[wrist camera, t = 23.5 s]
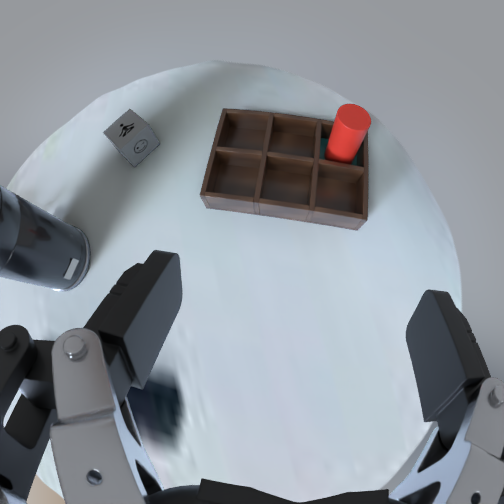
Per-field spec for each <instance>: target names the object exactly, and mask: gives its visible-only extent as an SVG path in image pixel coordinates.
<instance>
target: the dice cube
mask: <svg viewBox="0 0 504 504" xmlns="http://www.w3.org/2000/svg"><path fill="white" fill-rule="evenodd" d="M103 133H104V134H105V135H106V137H107V138H108V139H109V140H110V141H111V143H112V144H113V145H114V146H115V147H116V149H117V150H118V151H119V152H120V153H121V154H122V155H123V156H124V157H125V158H126V159H127V160H128V161H129V162H130V163H131V164H132V165H133V166H134V167H135V166H137V165H138V164H139V163H140V162H141V161H142V160H143V159H144V158H145V157H146V156H147V155H148V154H149V153H150V152H152V151H153V150H154V149H155V148H156V147H157V146H158V145H159V144H160V143H159V141H158V139H157V138H156V136H155V134H154V132H153V131H152V129H151V127H150V126H149V124H148V123H147V122H145V121H144V120H143V119H142V118H141V117H139V116H138V115H137V114H136V113H135V112H133V111H132V110H131V109H129V110H128V111H127V112H125V113H124V114H123V115H122V116H121V117H120V118H119V119H117V120H116V121H115V122H114V123H113V124H112V125H111V126H110V127H109V128H108V129H106V130H105V131H104V132H103Z"/></svg>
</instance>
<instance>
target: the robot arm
mask: <svg viewBox="0 0 504 504" xmlns="http://www.w3.org/2000/svg"><path fill="white" fill-rule="evenodd" d="M89 261H90V246H89V242H88V239H87V237H86V235H85V234H84V233H83V232H82V231H81V230H80V229H78V228H77V227H75V226H72V225H69V224H68V223H66V222H64V221H62V220H61V219H59V218H57V217H55V216H53V215H51V214H50V213H48V212H46V211H44V210H42V209H41V208H39V207H37V206H35V205H34V204H32V203H30V202H28V201H27V200H25V199H23V198H21V197H20V196H18V195H16V194H15V193H13V192H11V191H9V190H7V189H6V188H4V187H2V186H1V185H0V277H3V278H7V279H11V280H15V281H20V282H24V283H29V284H33V285H38V286H42V287H47V288H52V289H54V290H58V291H68V290H71V289H73V288H75V287H76V286H77V285H78V284H79V283H80V282H81V281H82V279H83V278H84V276H85V274H86V272H87V269H88V266H89ZM181 302H182V281H181V269H180V258H179V255H178V254H177V253H171V252H165V251H159V250H154V251H153V252H152V253H151V254H150V256H149V257H148V258H147V260H146V261H145V263H144V264H140V263H137V264H135V265H134V266H132V267H131V268H129V269H128V270H126V271H125V272H124V273H123V274H122V276H121V277H120V278H119V280H118V281H117V282H116V285H114V286H113V287H112V289H111V290H110V293H109V294H107V296H106V297H105V298H104V300H103V301H102V302H101V304H100V305H99V306H98V308H97V309H96V311H95V312H94V313H93V315H92V316H91V318H90V319H89V321H88V322H87V323H86V325H85V326H84V327H83V328H75V329H71V330H68V331H66V332H65V333H63V334H62V335H60V336H59V337H58V338H57V339H56V341H46V340H32V338H31V336H30V334H29V333H28V331H27V330H26V328H24V327H23V326H20V325H11V326H8V327H6V328H4V329H2V330H1V331H0V504H27V503H26V501H27V498H28V495H29V492H30V488H31V486H32V483H33V480H34V477H35V475H36V472H37V469H38V466H39V464H40V461H41V459H42V456H43V454H44V451H45V449H46V446H47V444H48V441H49V439H50V440H51V446H52V451H53V456H54V461H55V465H56V470H57V474H58V478H59V482H60V486H61V489H62V493H63V496H64V500H65V503H66V504H504V382H503V381H502V380H500V379H498V378H494V377H491V376H490V373H489V370H488V368H487V365H486V363H485V360H484V358H483V356H482V353H481V350H480V348H479V346H478V343H476V338H475V336H474V334H473V333H472V330H471V328H470V325H469V323H468V321H467V319H466V318H465V317H464V315H463V314H462V313H461V312H460V311H459V310H458V308H456V306H455V304H454V302H453V300H452V298H451V296H450V294H449V293H448V292H444V291H436V290H426V291H425V292H424V294H423V296H422V298H421V300H420V302H419V304H418V306H417V308H416V310H415V311H414V313H413V315H412V317H411V319H410V321H409V323H408V325H407V329H406V342H407V345H408V349H409V353H410V357H411V361H412V365H413V369H414V374H415V378H416V383H417V387H418V392H419V397H420V402H421V407H422V412H423V418H424V422H431V421H437V422H438V426H437V427H436V428H435V429H434V431H433V432H432V434H431V436H430V438H429V440H428V442H427V444H426V446H425V448H424V449H423V451H422V453H421V455H420V457H419V459H418V460H417V462H416V464H415V465H414V467H413V469H412V470H411V472H410V474H409V475H408V476H407V477H406V478H405V480H404V481H403V482H402V483H400V484H399V485H398V486H397V487H396V488H395V489H394V490H393V491H392V493H391V494H390V495H389V490H388V489H386V490H375V491H362V492H346V493H343V494H339V495H335V496H331V497H327V498H322V499H318V500H313V501H308V502H301V503H299V502H293V501H290V500H286V499H283V498H280V497H277V496H274V495H271V494H268V493H265V492H262V491H259V490H256V489H254V488H251V487H245V486H239V485H233V484H227V483H222V482H216V481H212V480H207V479H201V483H200V485H189V486H179V487H174V488H169V489H165V490H164V487H163V485H162V483H161V481H160V479H159V476H158V474H157V472H156V470H155V468H154V466H153V464H152V462H151V460H150V458H149V456H148V454H147V452H146V450H145V448H144V445H143V443H142V440H141V437H140V435H139V432H138V429H137V426H136V423H135V421H134V418H133V415H132V412H131V408H130V405H129V402H128V399H127V396H126V395H127V393H128V391H129V389H130V386H133V387H136V388H140V389H143V388H144V386H145V383H146V381H147V379H148V377H149V374H150V372H151V370H152V368H153V365H154V363H155V361H156V359H157V357H158V354H159V352H160V350H161V348H162V346H163V343H164V341H165V339H166V337H167V335H168V333H169V330H170V328H171V326H172V324H173V322H174V320H175V318H176V316H177V313H178V311H179V309H180V306H181ZM18 390H20V392H21V393H22V394H21V396H20V398H19V400H18V402H17V404H16V406H15V408H14V410H13V412H12V414H11V416H10V418H9V420H8V422H7V424H6V426H5V427H4V426H3V420H4V417H5V414H6V412H7V410H8V408H9V407H10V405H11V403H12V401H13V399H14V397H15V395H16V393H17V391H18Z"/></svg>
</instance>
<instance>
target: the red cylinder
mask: <svg viewBox="0 0 504 504" xmlns="http://www.w3.org/2000/svg"><path fill="white" fill-rule="evenodd" d="M370 124H371V118H370V116H369V114H368V112H367V111H366V110H365V109H363V108H362V107H360V106H358V105H355V104H345V105H342V106H341V107H340V108H339V109H338V111H337V114H336V118H335V121H334V124H333V128H332V131H331V134H330V137H329V141H328V144H327V147H326V150H325V154H324V157H325V160H328V161H334V162H339V163H345V164H350V165H351V164H352V162H353V159H354V157H355V155H356V153H357V151H358V149H359V147H360V145H361V143H362V141H363V139H364V137H365V135H366V133H367V131H368V129H369V127H370Z"/></svg>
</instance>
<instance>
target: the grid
mask: <svg viewBox="0 0 504 504" xmlns="http://www.w3.org/2000/svg"><path fill="white" fill-rule="evenodd" d="M333 124H334V122H333V121H327V120H321V119H316V118H309V117H303V116H296V115H288V114H280V113H271V112H270V113H269V112H262V111H251V110H239V109H224V108H223V110H222V113H221V117H220V120H219V124H218V127H217V131H216V135H215V138H214V142H213V146H212V149H211V153H210V157H209V161H208V164H207V168H206V172H205V176H204V180H203V184H202V188H201V192H200V197H201V199H202V201H203V202H204V204H205V206H206V208H210V209H218V210H226V211H233V212H241V213H248V214H255V215H262V216H269V217H276V218H283V219H290V220H297V221H303V222H310V223H316V224H322V225H328V226H334V227H340V228H346V229H352V230H358V229H359V228H360V227H361V226H362V225H363V224H364V223H365V222H366V221H367V217H368V131H367V133H366V135H365V137H364V139H363V141H362V143H361V145H360V147H359V149H358V151H357V153H356V155H355V157H354V159H353V162H352V164H351V165H350V164H345V163H339V162H334V161H328V160H325V157H324V154H325V150H326V147H327V144H328V141H329V137H330V134H331V131H332V128H333Z"/></svg>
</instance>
